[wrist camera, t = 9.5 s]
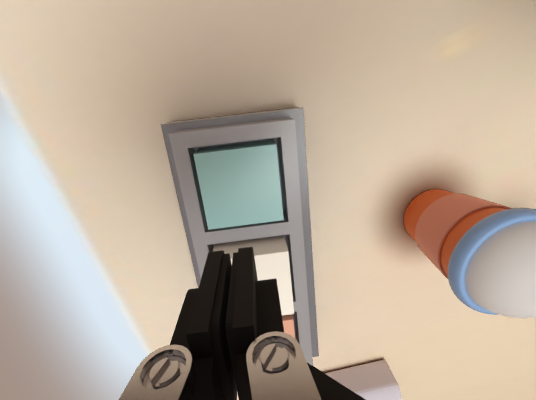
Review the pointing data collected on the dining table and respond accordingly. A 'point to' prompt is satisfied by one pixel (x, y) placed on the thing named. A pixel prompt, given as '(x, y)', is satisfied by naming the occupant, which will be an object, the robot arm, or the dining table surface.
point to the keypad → (292, 227)
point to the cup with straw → (479, 249)
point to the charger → (369, 381)
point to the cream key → (268, 264)
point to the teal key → (240, 183)
